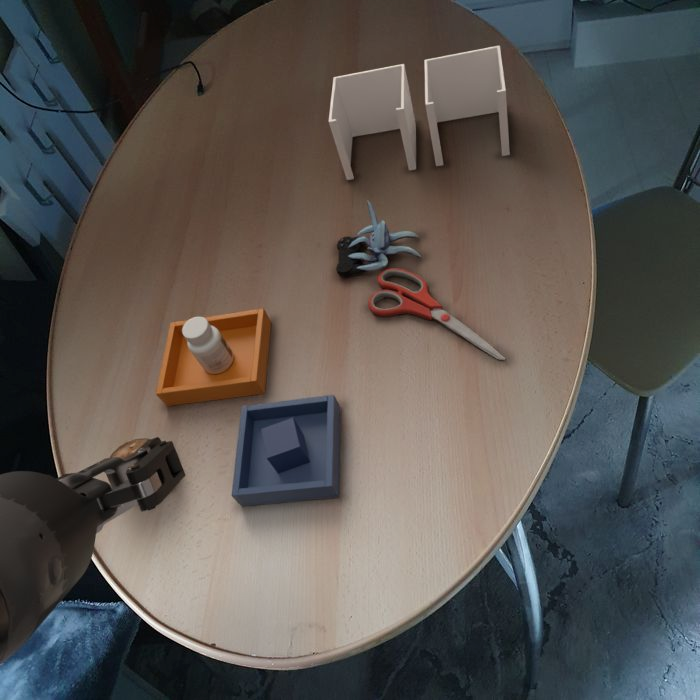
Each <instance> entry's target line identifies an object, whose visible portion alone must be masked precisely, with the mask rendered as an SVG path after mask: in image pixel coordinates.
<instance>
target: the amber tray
mask: <svg viewBox="0 0 700 700" xmlns="http://www.w3.org/2000/svg"><path fill="white" fill-rule="evenodd" d="M203 317H204V316H203ZM204 318H205V319H206V320H207V321H208V322H209V324H210V325H211V326H214V327H215V328H217V329H218V331H219V332H220V334H221V335H222V337H223V338H224V340H225V341H226V343H227V344H228V346H229V347H230V349H231V350H232V352H233V355H234V358H233V362H232V364H231V365H230V367H229V368H228V369H227V370H225V371H224V372H222V373H219V374H210V373H208V372H206V371H205V370H204V369H203V367H202V366H201V365H200V363H199V362H198V361H197V359H196V358H195V357H194V355H193V354H192V353H191V351H190V350H189V348H188V345H187V340H186V338H185V337H184V335H183V333H182V329H183V326H184V324H185V323H186V322H187V321H188V320H189V319H185V320H178V321H172V322H170V323H169V328H168V333H167V338H166V343H165V346H164V347H165V348H164V352H163V358H162V362H161V366H160V372H159V377H158V382H157V387H156V391H155V395H156V397H158V398H159V399H160V400H161V401H162V403H163V404H164V405H165V406H166V407H170V406H178V405H186V404H193V403H202V402H211V401H217V400H218V401H219V400H224V399H233V398H240V397H241V398H242V397H248V396H256V395H264V394H266V393H265V392H266V384H267V383H266V382H267V371H268V363H269V362H268V361H269V351H270V341H271V330H272V321H271V319H270V317H269V315H268V313H267V311H266V309H265V308H264V307H263V308H256V309H255V308H254V309H249V310H243V311H237V312H236V311H235V312H230V313H224V314H216V315H210V316H205V317H204Z"/></svg>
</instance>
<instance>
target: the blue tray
mask: <svg viewBox="0 0 700 700" xmlns="http://www.w3.org/2000/svg"><path fill="white" fill-rule="evenodd" d="M290 418H294V420H295V421H296V423H297V425H298V426H299V428H300V429H301V431H302V433H303V435H304V439H305V443H306V447H307V451H308V455H309V459H310V462H309V463H306V464H303V465H301V466H298V467H295V468H292V469H289V470H287V471H284V472H281V473H277V471H276V470H275V469H274V468H273V466H272V465H271V464H270V462H269V461H268V460H267V458H266V453H265V448H264V443H263V438H262V433H261V429H262V428H265V427H268V426H271V425H274V424H276V423H279V422H282V421H285V420H288V419H290ZM340 461H341V405H340V403H339V402H338V400H337V398H336V395H335V394H329V395H321V396H320V395H319V396H313V397H304V398H295V399H289V400H280V401H273V402H263V403H257V404H249V405H242V406H241V408H240V417H239V426H238V436H237V443H236V453H235V461H234V469H233V470H234V471H233V478H232V487H231V497H232V499H234V500H235V502H237V504H239V505H240V507H249V506H261V505H270V504H272V505H273V504H280V503H293V502H302V501H303V502H304V501H314V500H323V499H334V498H340V474H341V473H340V463H341V462H340Z"/></svg>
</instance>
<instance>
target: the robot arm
mask: <svg viewBox="0 0 700 700" xmlns="http://www.w3.org/2000/svg"><path fill="white" fill-rule="evenodd" d="M149 439H150V440H148V441H147V442H146V443H145V444H143V445H142V446H141V447H140V448H139V449H137V450H136V451H135V452H134V453H132V454H130V455H128V456H126V457H124V458H120V457H112V458H110V457H107V458H104V459H101V460H99V461H97V462H95V463H93V464H92V465H89V466H88V467H86V468H84V469H82V470H79V471H78V472H70V473H65V474H62V475H60V476H58V477H56V478H55V477H53V476H52V475H51V474H50V473H49V474H45V473H41V472H36V471H29V470H16V471H10V472H5V473H1V474H0V666H1V665H2V664H3V663H5V662H6V661H7V660H8V659H9V658H10V657H12V656H13V655H14V654H15V653H17V652H18V651H19V650H20V648H21V647H23V646H24V645H25V643H26V642H27V641H28V640H29V639H30V638H31V637H32V636H33V635H34V633H35V632H36V631H37V630H38V628H39V627H40V626H42V624H43V623H44V622H45V620H47V618H49V616H50V614H51V613H53V611H54V610H55V609H56V607H58V605H59V604H60V603H61V601H62V600H64V598H66V596H67V595H68V593H69V592H70V591H71V590H72V589H73V588H74V586H75V585H76V584H77V583H78V582H79V581H80V580H81V578H83V576H84V574H85V573H86V571H87V570H88V568H89V565H90V564H91V561H92V558H93V554H94V551H95V550H94V549H95V544H96V539H97V538H96V537H97V534H98V533H100V532H101V531H102V529H103V527H104V526H105V525H107V523H109V522H111V521H113V520H114V519H116V518H117V517H119V516H121V515H122V514H125V513H126V512H128V511H129V510H131V509H133V508H135V507H136V506H137V505H138V508H139V509H140V511H141V512H146V511H153V510H154V509H156V508H157V506H159V505H160V504H161V503H163V501H164V500H165V499H166V498H167V497H168V496H169V495H170V493H171V492H172V491H173V490H174V489H175V488H176V487H177V485H179V483H180V482H181V481H182V480H183V479H184V478H185V477H186V473H185V469H184V468H183V465H182V462H181V460H180V457H179V454H178V452H177V449H176V447H175V444H174V442H173V441H172V440H169V441H167V440H163V441H162V440H161V438H160V437H159V436H156V437H153V438H149ZM135 463H136V464H135ZM133 464H135V465H134V466H131V465H133ZM129 466H130V467H129ZM102 473H104V474H105V475H106V478H107V480H108V482H109V483H108V482H107V481H105V480H101V479H98V478H95V477H97V476H99V475H100V474H102Z"/></svg>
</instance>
